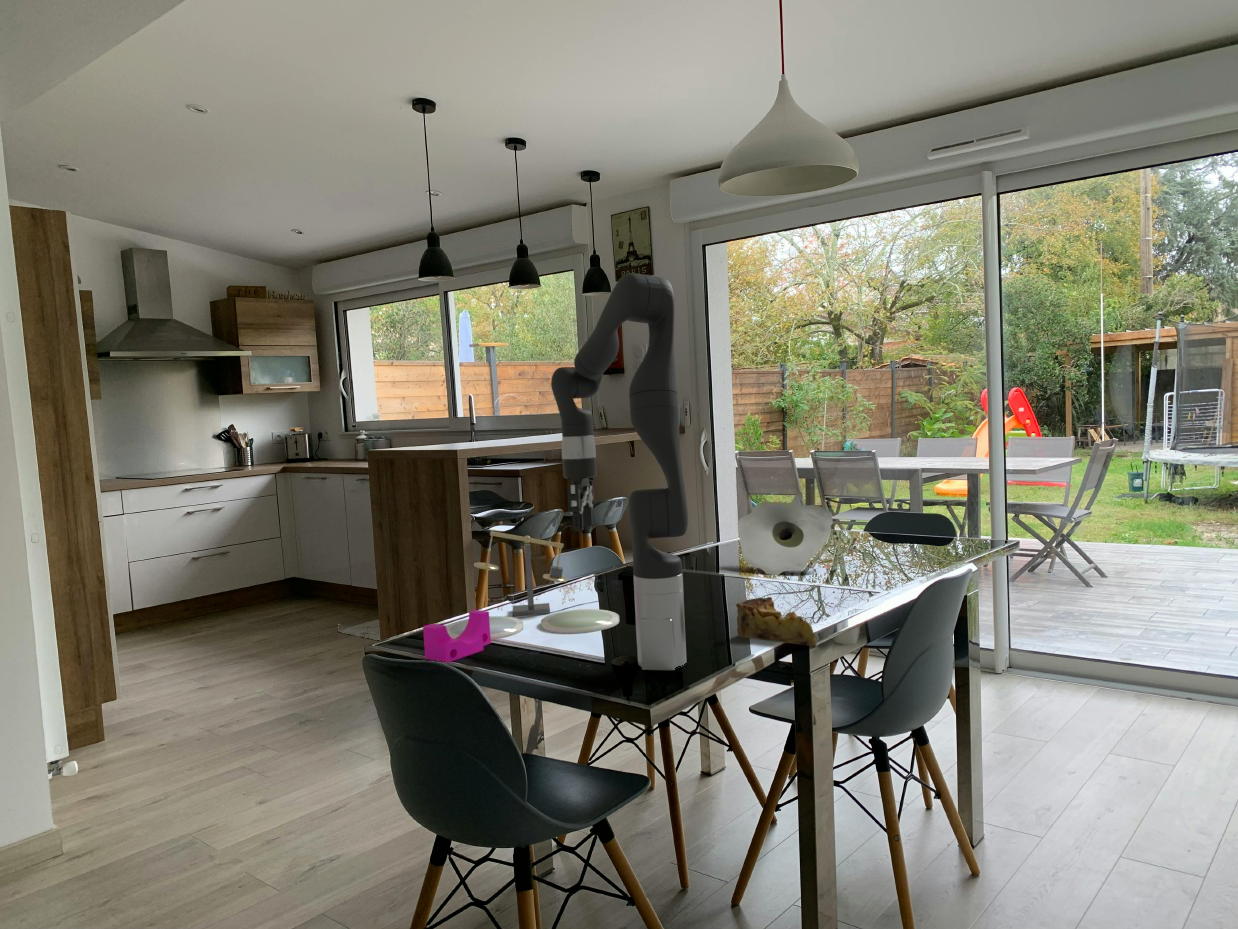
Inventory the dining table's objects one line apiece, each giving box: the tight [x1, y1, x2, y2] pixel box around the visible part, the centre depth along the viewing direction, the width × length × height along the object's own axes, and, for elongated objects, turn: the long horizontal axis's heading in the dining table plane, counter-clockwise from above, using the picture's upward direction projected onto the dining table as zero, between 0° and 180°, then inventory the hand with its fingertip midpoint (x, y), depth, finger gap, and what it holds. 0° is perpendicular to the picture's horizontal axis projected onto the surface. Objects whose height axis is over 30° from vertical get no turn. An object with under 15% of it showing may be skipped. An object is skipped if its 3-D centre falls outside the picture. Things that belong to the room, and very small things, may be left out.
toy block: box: [422, 609, 492, 664], centre depth 182 cm, size 15×6×8 cm, turn 144°
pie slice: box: [736, 596, 818, 647], centre depth 178 cm, size 18×10×8 cm, turn 36°
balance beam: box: [473, 530, 568, 583], centre depth 214 cm, size 6×23×9 cm, turn 96°
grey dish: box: [445, 615, 524, 641], centre depth 199 cm, size 18×18×1 cm
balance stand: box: [512, 543, 551, 617], centre depth 215 cm, size 6×9×17 cm, turn 96°
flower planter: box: [737, 491, 834, 576], centre depth 258 cm, size 16×30×28 cm
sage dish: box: [540, 608, 620, 634], centre depth 202 cm, size 18×18×1 cm
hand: (583, 528), depth 197 cm, fingers open, 8 cm apart
